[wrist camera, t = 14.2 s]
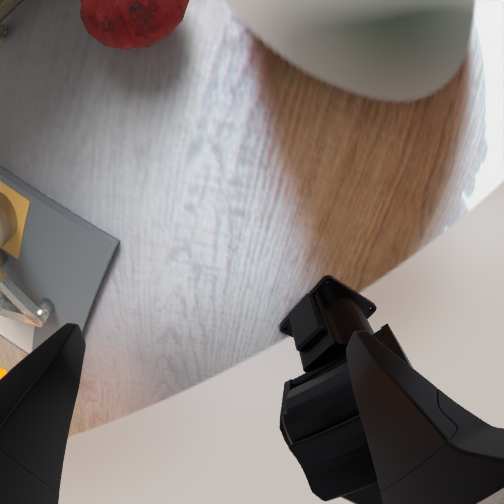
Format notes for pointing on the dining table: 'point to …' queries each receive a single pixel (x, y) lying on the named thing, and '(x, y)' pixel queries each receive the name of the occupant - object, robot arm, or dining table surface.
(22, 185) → the board
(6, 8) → the tabletop clock
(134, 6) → the onion
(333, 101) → the dining table surface
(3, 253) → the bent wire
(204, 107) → the dining table surface
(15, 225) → the peg
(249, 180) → the dining table surface
